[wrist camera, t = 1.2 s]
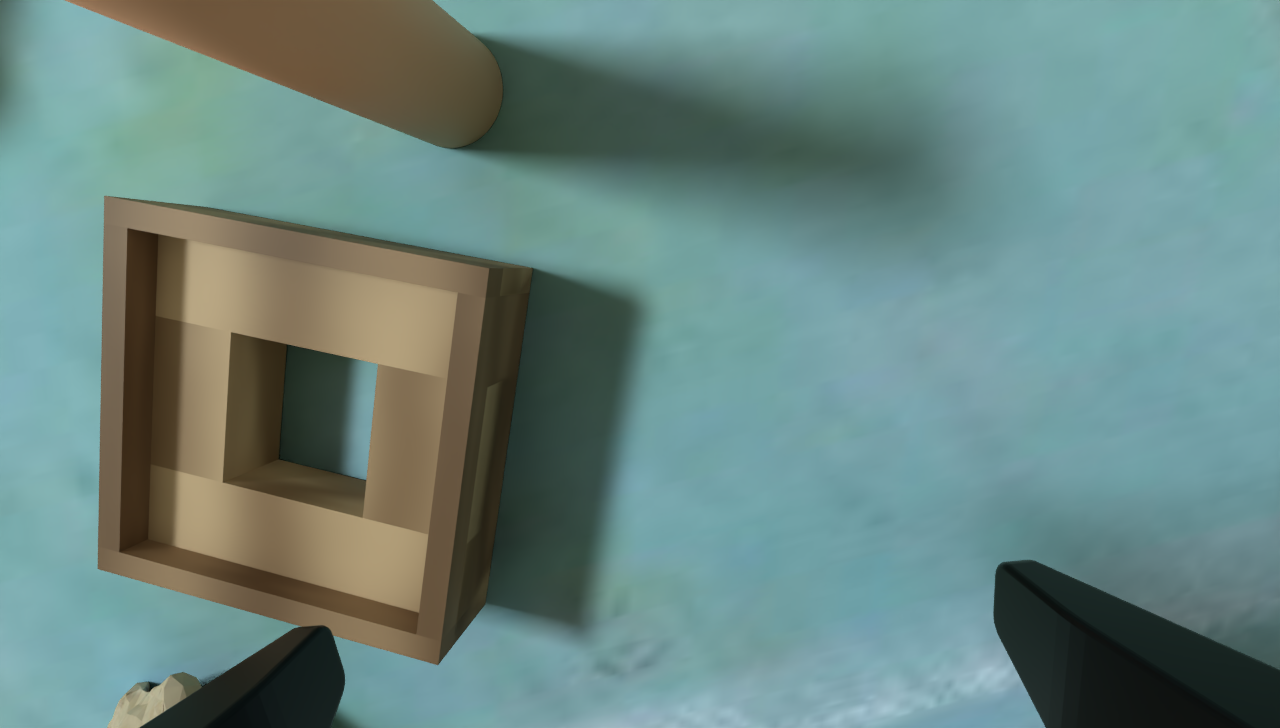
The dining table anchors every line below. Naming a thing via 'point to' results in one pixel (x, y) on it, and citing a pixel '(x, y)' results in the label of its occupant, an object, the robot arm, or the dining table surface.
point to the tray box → (252, 411)
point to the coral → (152, 700)
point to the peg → (343, 55)
